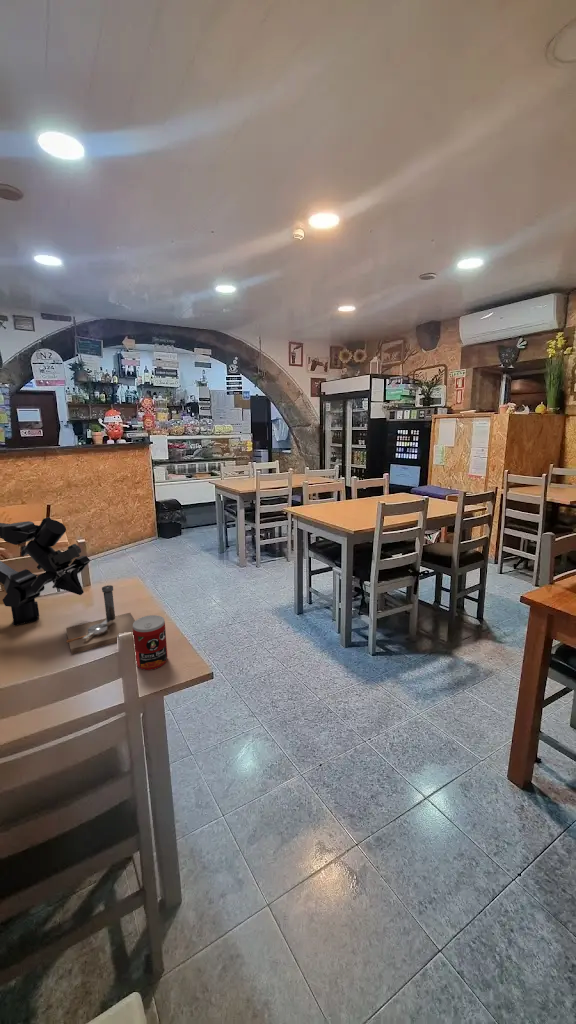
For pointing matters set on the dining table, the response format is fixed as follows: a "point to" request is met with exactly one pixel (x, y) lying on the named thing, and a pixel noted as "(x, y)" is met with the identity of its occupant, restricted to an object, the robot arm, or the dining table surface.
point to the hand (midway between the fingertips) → (82, 593)
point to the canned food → (150, 642)
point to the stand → (79, 631)
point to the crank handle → (110, 615)
